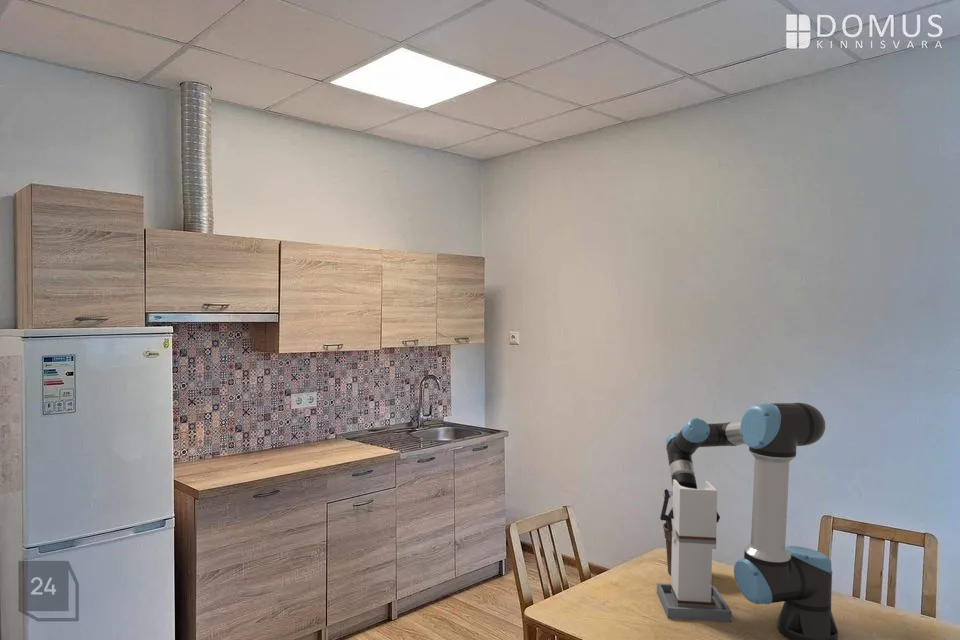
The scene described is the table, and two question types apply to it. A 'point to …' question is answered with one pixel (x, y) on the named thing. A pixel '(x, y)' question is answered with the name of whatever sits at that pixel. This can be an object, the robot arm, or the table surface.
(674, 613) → the tray
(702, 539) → the brown-banded white pillar
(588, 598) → the table surface
